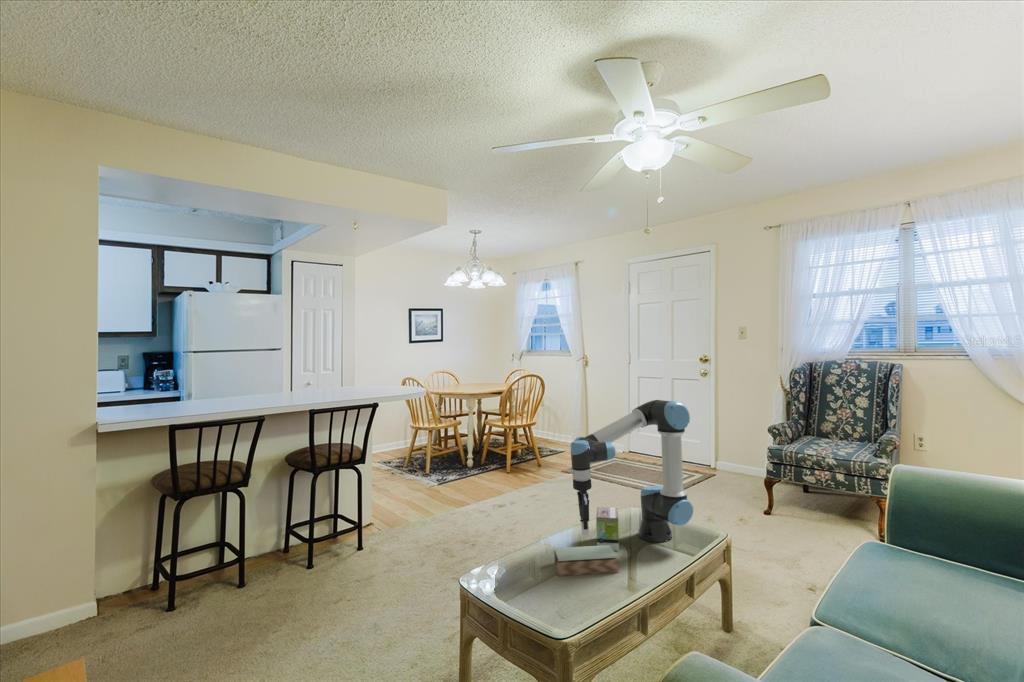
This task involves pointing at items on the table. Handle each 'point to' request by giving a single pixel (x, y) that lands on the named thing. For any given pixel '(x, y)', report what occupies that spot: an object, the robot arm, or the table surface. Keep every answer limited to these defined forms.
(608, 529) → the tea box
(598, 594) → the table surface
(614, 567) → the tissue box
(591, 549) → the cover
